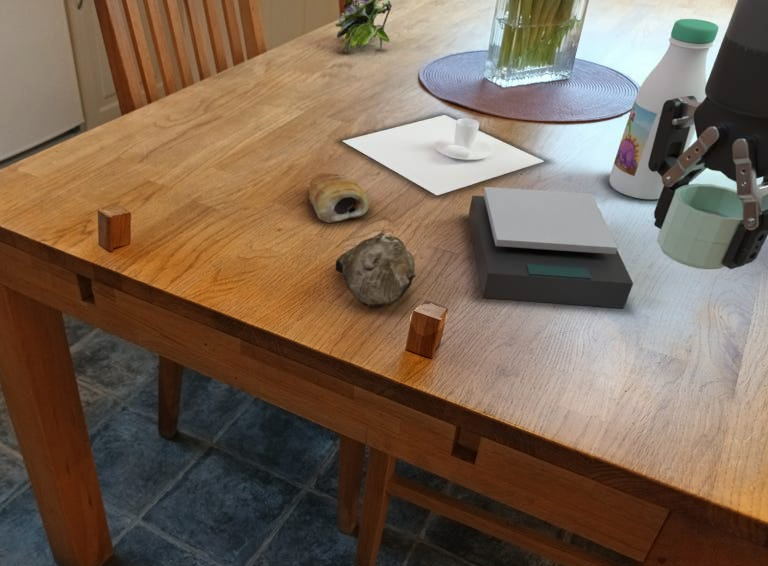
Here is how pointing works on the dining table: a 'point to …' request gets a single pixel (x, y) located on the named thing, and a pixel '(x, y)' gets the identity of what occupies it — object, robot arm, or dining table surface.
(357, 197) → the pastry
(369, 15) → the passion flower
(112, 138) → the dining table surface
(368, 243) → the fossilized seashell
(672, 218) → the cup
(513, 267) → the scale
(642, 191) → the milk bottle
